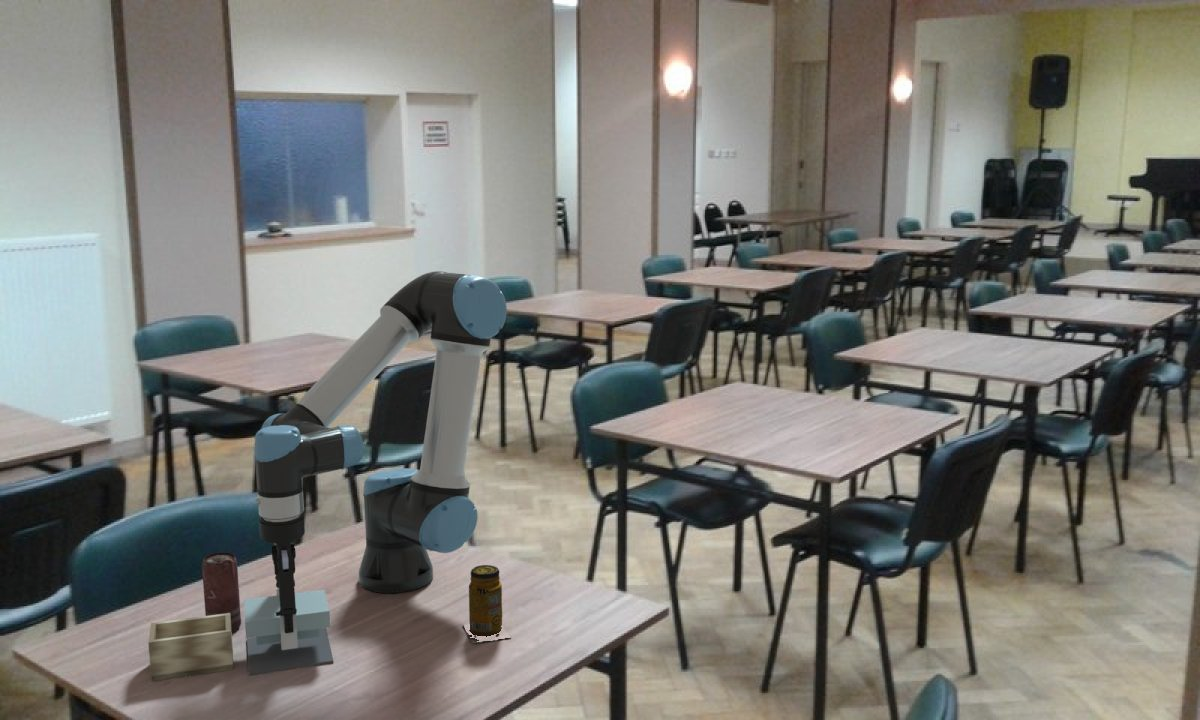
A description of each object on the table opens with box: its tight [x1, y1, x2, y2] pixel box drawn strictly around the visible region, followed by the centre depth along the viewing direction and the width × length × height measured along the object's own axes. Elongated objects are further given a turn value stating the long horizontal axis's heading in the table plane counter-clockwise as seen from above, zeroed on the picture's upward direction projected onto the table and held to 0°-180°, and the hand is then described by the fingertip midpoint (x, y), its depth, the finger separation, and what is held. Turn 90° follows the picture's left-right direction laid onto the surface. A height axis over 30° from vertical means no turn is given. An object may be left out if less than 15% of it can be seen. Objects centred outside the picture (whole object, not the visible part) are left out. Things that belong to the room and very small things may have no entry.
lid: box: [243, 589, 331, 645], centre depth 191 cm, size 14×10×6 cm
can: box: [201, 552, 242, 633], centre depth 201 cm, size 6×6×14 cm
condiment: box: [466, 564, 503, 644], centre depth 199 cm, size 7×8×12 cm
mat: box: [246, 628, 334, 676], centre depth 192 cm, size 14×14×1 cm
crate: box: [147, 613, 234, 682], centre depth 187 cm, size 13×8×7 cm, turn 109°
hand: (287, 635), depth 192 cm, fingers closed on lid, 10 cm apart
